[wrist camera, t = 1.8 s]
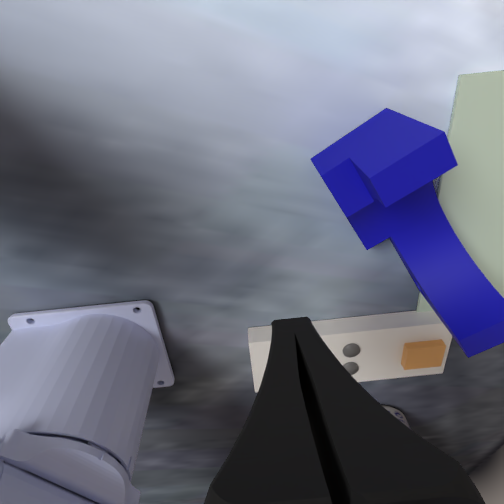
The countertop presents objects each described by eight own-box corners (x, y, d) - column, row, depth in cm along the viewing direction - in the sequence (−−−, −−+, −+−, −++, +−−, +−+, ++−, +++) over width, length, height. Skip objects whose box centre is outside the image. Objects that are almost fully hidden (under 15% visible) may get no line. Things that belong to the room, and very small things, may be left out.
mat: (416, 310, 25) (417, 312, 25) (458, 75, 18) (461, 75, 17) (500, 301, 25) (502, 303, 25) (579, 62, 18) (582, 62, 17)
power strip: (253, 376, 28) (255, 399, 26) (247, 327, 25) (248, 349, 23) (432, 357, 27) (446, 379, 26) (444, 307, 25) (461, 327, 23)
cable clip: (310, 159, 19) (335, 199, 14) (386, 107, 18) (444, 131, 13) (398, 300, 24) (440, 369, 19) (462, 268, 23) (526, 332, 18)
